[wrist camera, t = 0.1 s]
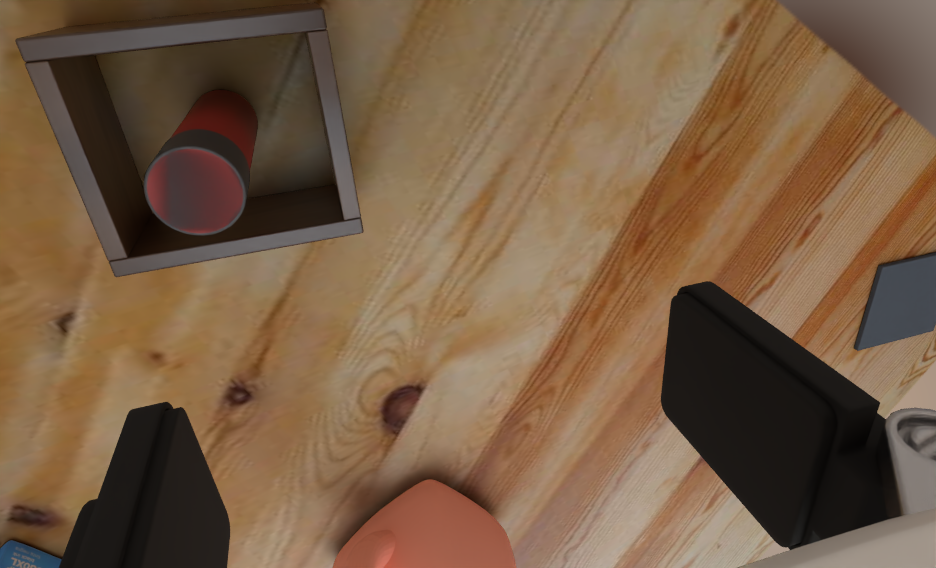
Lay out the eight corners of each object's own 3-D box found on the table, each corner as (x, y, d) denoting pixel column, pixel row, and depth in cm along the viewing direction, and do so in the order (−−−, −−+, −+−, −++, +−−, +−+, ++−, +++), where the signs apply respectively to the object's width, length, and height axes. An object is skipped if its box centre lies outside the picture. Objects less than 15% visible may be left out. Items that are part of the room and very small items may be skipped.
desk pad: (878, 265, 46) (882, 267, 46) (959, 246, 47) (963, 248, 47) (853, 348, 50) (857, 351, 49) (929, 328, 51) (933, 330, 51)
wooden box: (63, 27, 25) (13, 38, 21) (316, 1, 27) (323, 7, 23) (141, 230, 30) (114, 277, 25) (352, 195, 32) (363, 233, 27)
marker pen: (181, 92, 28) (128, 153, 18) (249, 84, 28) (232, 138, 19) (201, 157, 29) (161, 243, 20) (265, 147, 30) (256, 227, 20)
